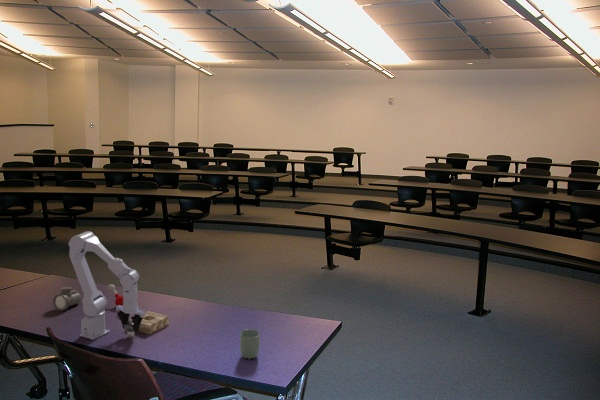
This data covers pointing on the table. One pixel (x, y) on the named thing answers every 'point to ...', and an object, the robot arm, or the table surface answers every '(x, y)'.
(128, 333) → the steel pin
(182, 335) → the table surface
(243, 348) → the cup
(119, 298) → the molecular model
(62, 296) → the pipe fitting
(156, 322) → the wooden block
